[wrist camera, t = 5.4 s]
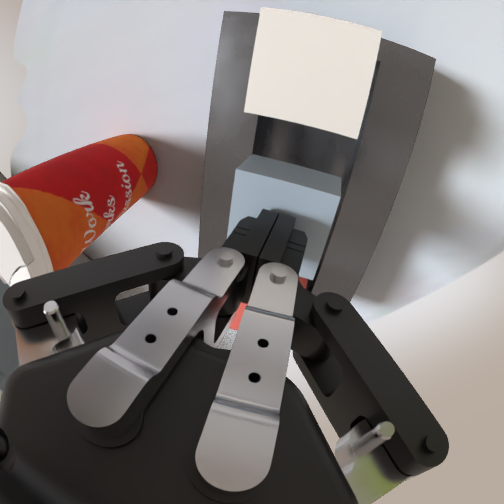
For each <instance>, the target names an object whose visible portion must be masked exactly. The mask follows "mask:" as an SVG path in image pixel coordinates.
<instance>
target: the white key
mask: <svg viewBox="0 0 504 504" xmlns="http://www.w3.org/2000/svg"><path fill="white" fill-rule="evenodd" d="M381 35H382V31H379V30H376V29H373V28H370V27H366V26H363V25H359V24H355V23H351V22H347V21H343V20H339V19H335V18H330V17H325V16H320V15H315V14H310V13H304V12H298V11H291V10H283V9H275V8H265V7H261V10H260V16H259V22H258V27H257V33H256V39H255V45H254V51H253V57H252V63H251V69H250V75H249V82H248V88H247V94H246V101H245V107H244V112H246V113H252V114H257V115H262V116H267V117H272V118H277V119H281V120H286V121H290V122H295V123H299V124H303V125H307V126H311V127H315V128H319V129H322V130H326V131H330V132H333V133H337V134H340V135H344V136H347V137H351V138H354V139H358V135H359V131H360V128H361V124H362V120H363V116H364V112H365V108H366V104H367V100H368V96H369V91H370V87H371V83H372V78H373V74H374V69H375V65H376V60H377V55H378V50H379V45H380V40H381Z"/></svg>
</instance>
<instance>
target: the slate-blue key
mask: <svg viewBox="0 0 504 504" xmlns="http://www.w3.org/2000/svg"><path fill="white" fill-rule="evenodd" d="M340 198H341V177H338V176H334V175H331V174H327V173H324V172H320V171H317V170H313V169H310V168H306V167H302V166H298V165H295V164H291V163H287V162H283V161H279V160H275V159H271V158H266V157H262V156H258V155H253V154H252V155H251V156H250V157H249V158H247V159H246V160H245V161H244V162H243V163H242V164H241V165H240V166H239V167H237V168H236V170H235V178H234V185H233V193H232V201H231V208H230V216H229V224H228V233H227V238H228V237H229V235H230V234H231V232H232V231H233V230H234V228H235V227H236V225H237V224H238V222H239V221H240V220H241V219H243V218H245V217H247V216H251V217H254V218H257V217H258V216H259V214H260V212H261V211H262V209H266V210H270V211H274V212H277V213H279V215H280V213H281V214H285V215H288V216H292V217H295V218H296V221H295V225H294V229H297V230H300V231H303V232H305V234H306V236H307V238H308V241H307V245H306V249H305V253H304V257H303V260H302V264H301V268H300V272H299V276H300V277H303V278H307V279H310V280H313V278H314V276H315V273H316V270H317V267H318V264H319V261H320V259H321V256H322V253H323V250H324V247H325V244H326V241H327V238H328V235H329V232H330V229H331V226H332V223H333V220H334V217H335V214H336V210H337V207H338V204H339V201H340Z"/></svg>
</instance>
